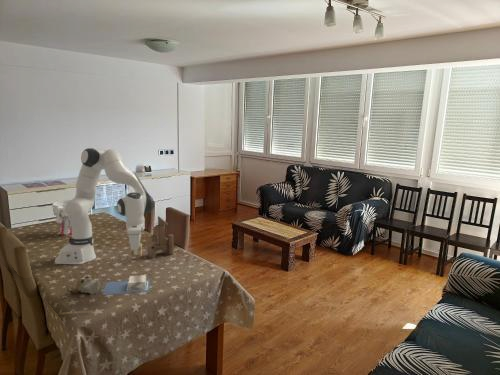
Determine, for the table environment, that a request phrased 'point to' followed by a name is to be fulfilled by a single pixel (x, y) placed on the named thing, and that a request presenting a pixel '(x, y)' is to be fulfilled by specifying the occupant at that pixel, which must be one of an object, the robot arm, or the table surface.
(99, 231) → the table surface
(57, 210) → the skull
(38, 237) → the table surface
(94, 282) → the ceramic sculpture
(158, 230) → the wooden toy
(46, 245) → the table surface
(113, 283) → the board
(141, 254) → the oak cube
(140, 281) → the base block
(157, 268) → the table surface
